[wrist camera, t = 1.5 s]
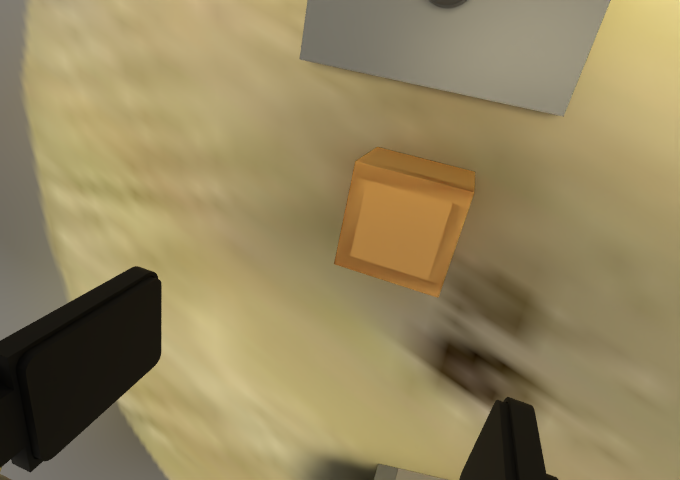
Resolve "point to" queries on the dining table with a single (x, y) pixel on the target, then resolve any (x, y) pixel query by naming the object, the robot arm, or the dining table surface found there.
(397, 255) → the orange panelled cube
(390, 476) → the circuit breaker
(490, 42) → the plate
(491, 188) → the dining table surface
